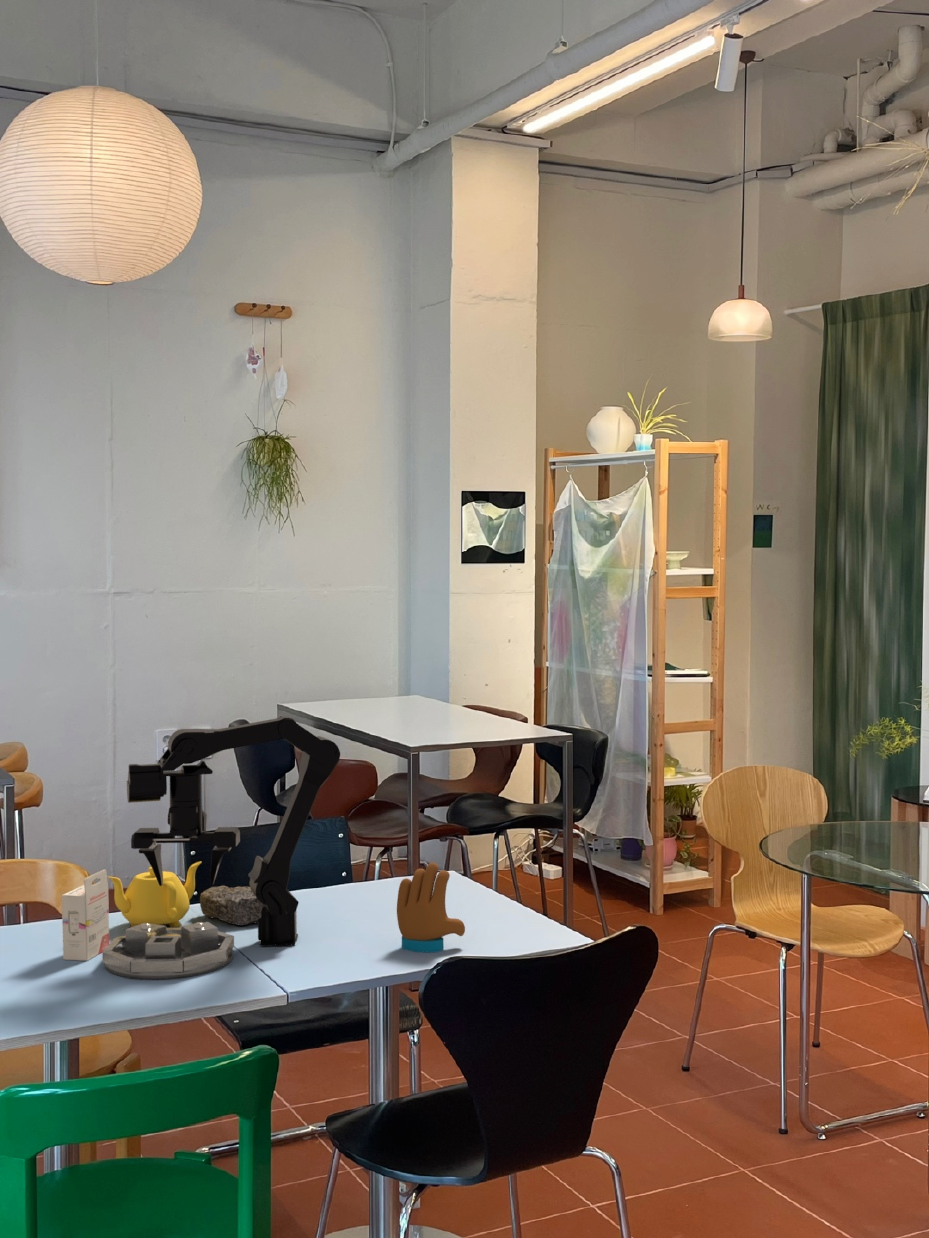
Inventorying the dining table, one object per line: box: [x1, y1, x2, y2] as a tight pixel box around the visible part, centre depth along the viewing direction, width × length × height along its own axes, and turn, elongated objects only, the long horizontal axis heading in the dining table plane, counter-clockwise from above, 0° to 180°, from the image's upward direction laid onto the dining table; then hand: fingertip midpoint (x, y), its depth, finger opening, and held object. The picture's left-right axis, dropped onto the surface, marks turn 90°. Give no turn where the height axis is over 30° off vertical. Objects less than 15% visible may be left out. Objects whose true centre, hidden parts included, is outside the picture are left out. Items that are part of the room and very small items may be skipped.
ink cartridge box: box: [60, 869, 110, 962], centre depth 226 cm, size 9×5×15 cm, turn 168°
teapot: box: [107, 861, 202, 928], centre depth 245 cm, size 20×15×12 cm
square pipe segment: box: [145, 936, 181, 959], centre depth 216 cm, size 5×5×4 cm
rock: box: [199, 885, 264, 926], centre depth 251 cm, size 13×6×15 cm
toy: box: [396, 862, 466, 953], centre depth 229 cm, size 12×7×15 cm, turn 70°
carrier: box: [101, 921, 235, 981], centre depth 222 cm, size 22×22×6 cm
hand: (186, 884), depth 228 cm, fingers open, 9 cm apart
